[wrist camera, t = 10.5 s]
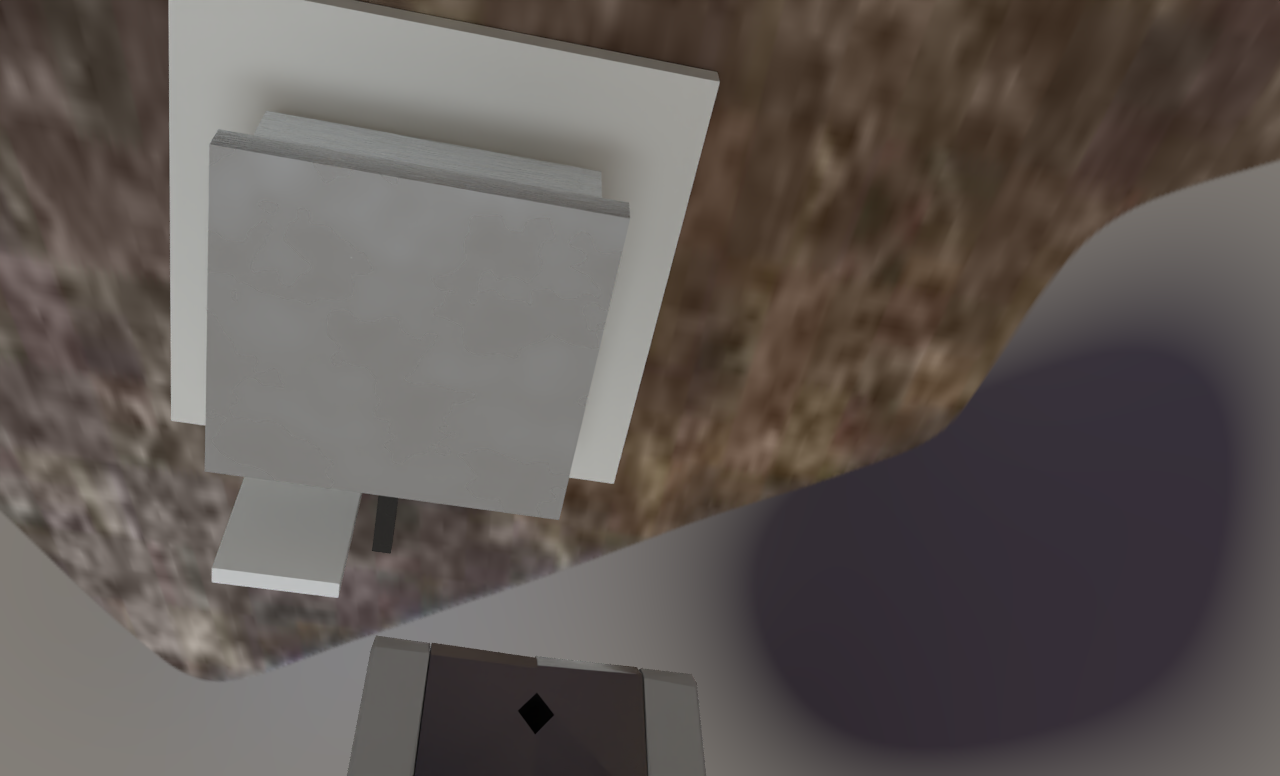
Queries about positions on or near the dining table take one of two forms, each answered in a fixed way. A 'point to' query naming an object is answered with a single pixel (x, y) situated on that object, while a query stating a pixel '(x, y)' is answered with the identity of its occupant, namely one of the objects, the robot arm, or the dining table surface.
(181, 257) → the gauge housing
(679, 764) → the robot arm
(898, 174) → the dining table surface
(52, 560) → the dining table surface
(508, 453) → the pan
